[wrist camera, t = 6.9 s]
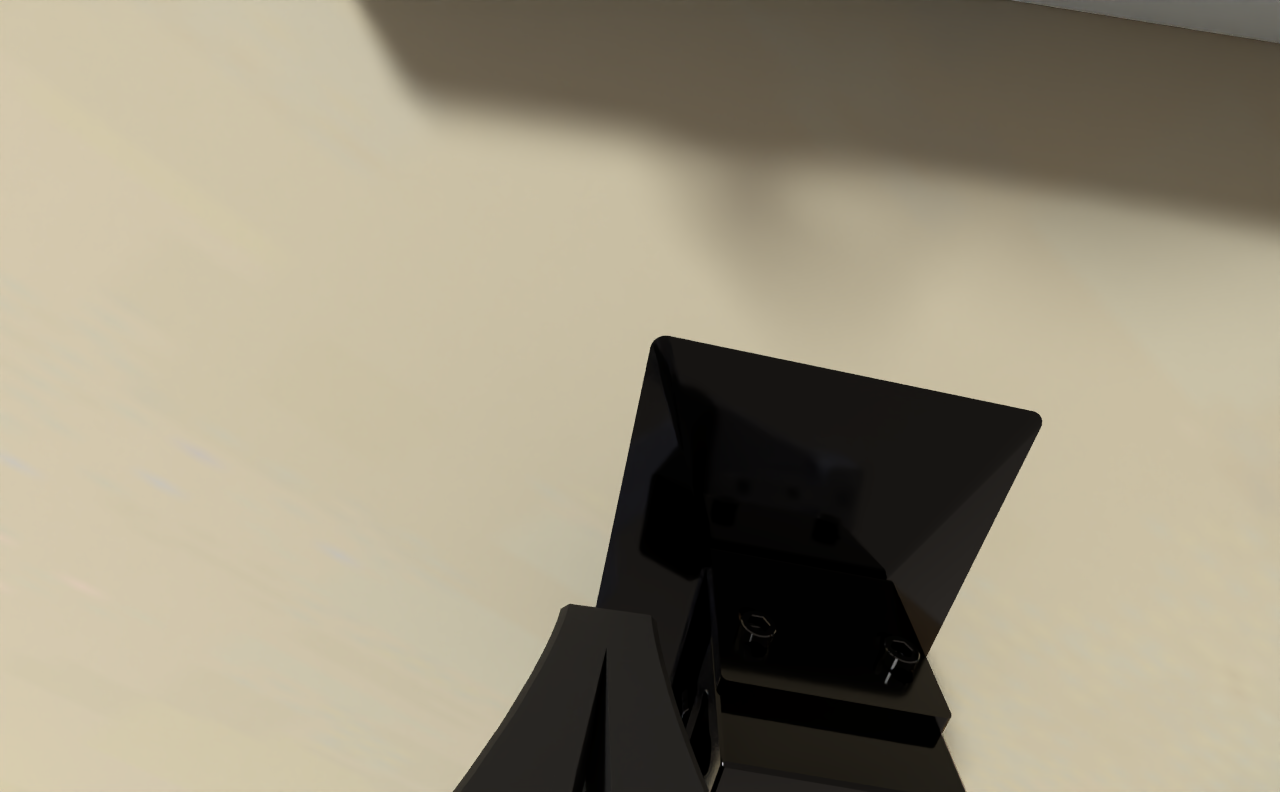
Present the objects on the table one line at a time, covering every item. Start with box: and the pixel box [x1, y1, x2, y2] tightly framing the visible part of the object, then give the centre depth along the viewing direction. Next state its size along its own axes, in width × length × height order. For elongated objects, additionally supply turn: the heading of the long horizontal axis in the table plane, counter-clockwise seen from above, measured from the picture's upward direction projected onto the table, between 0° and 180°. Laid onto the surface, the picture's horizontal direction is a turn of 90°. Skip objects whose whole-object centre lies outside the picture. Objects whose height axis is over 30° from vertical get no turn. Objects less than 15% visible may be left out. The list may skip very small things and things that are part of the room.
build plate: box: [583, 336, 1042, 792], centre depth 11 cm, size 13×8×5 cm, turn 169°
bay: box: [1013, 0, 1280, 43], centre depth 11 cm, size 21×21×2 cm
